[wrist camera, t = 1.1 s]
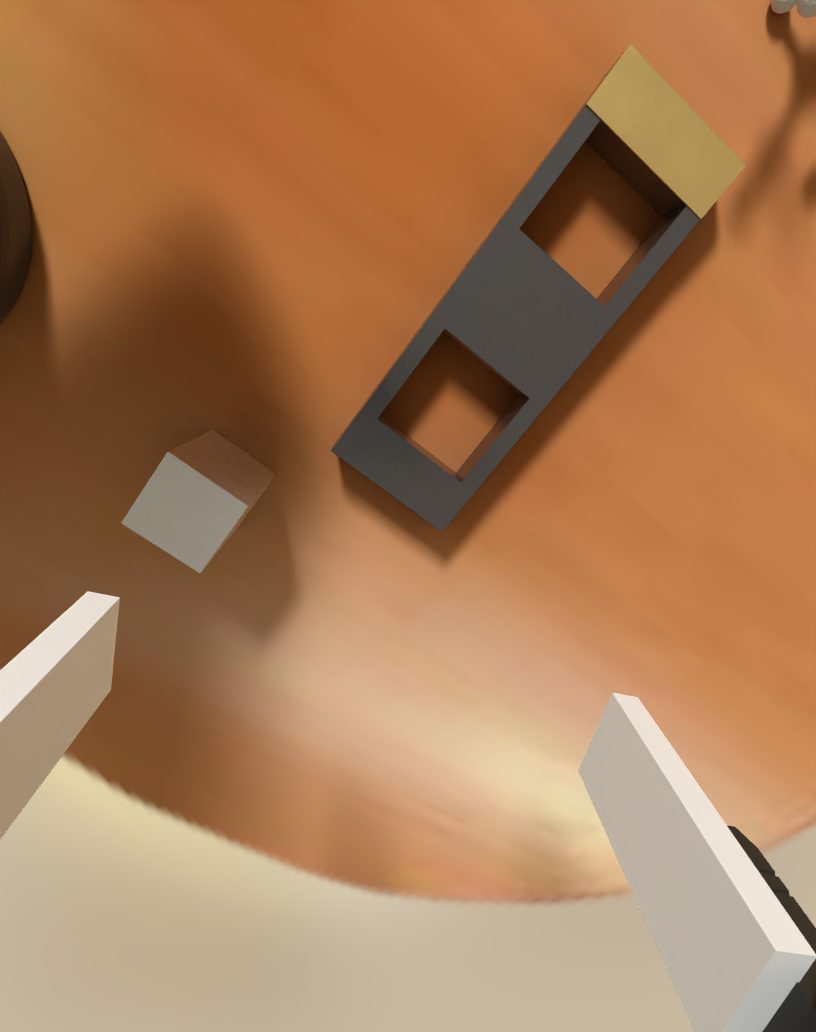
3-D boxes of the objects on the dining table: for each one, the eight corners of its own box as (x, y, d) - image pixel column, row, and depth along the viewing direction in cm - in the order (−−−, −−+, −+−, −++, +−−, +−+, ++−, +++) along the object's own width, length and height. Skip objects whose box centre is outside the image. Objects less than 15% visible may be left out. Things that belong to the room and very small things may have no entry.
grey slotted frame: (335, 443, 33) (330, 451, 31) (609, 70, 28) (630, 43, 26) (438, 519, 35) (442, 532, 32) (715, 180, 30) (745, 165, 27)
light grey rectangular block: (174, 487, 34) (120, 523, 27) (213, 429, 33) (167, 451, 26) (236, 529, 35) (199, 573, 28) (276, 474, 34) (248, 506, 27)
